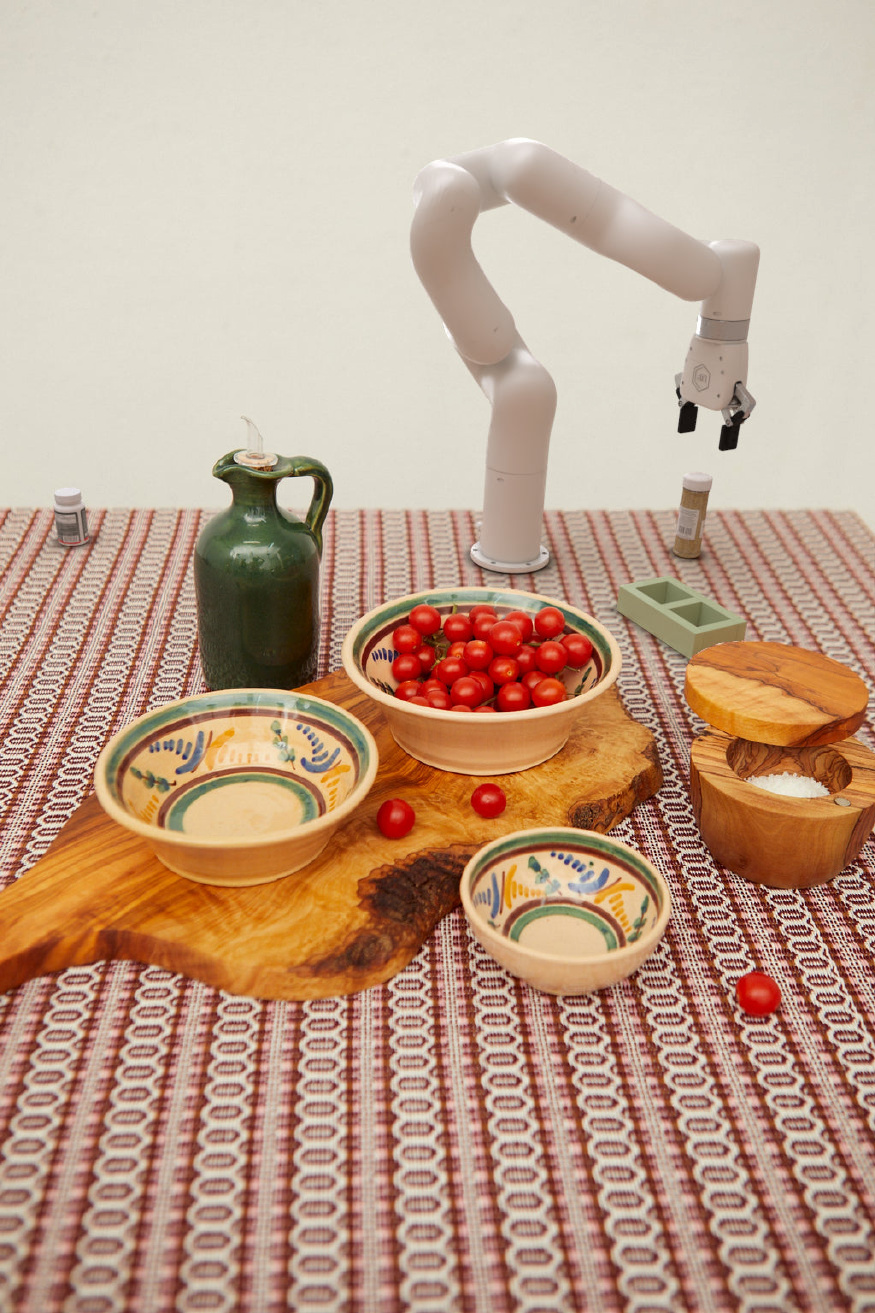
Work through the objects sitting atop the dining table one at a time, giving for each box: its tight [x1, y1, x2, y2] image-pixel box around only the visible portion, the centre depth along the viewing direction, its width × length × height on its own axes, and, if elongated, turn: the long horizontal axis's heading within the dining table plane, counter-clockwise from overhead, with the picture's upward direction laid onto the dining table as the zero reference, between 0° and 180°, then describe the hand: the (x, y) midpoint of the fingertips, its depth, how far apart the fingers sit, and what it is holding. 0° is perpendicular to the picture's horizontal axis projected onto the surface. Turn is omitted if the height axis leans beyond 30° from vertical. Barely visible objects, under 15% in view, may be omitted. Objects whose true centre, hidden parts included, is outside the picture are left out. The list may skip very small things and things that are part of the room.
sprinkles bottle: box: [672, 471, 713, 559], centre depth 177 cm, size 5×5×14 cm
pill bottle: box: [53, 487, 90, 547], centre depth 173 cm, size 5×5×8 cm
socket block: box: [616, 574, 748, 660], centre depth 155 cm, size 9×17×4 cm, turn 28°
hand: (706, 440), depth 171 cm, fingers open, 9 cm apart
